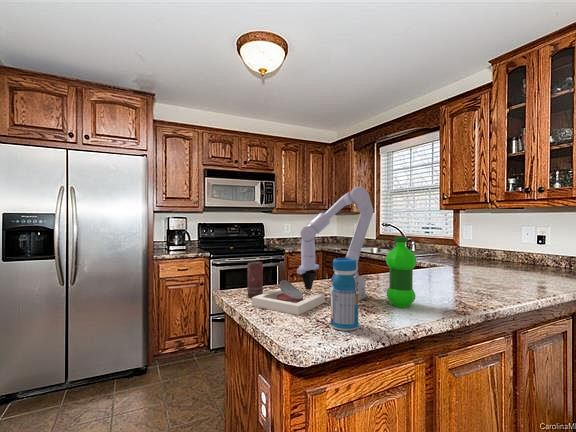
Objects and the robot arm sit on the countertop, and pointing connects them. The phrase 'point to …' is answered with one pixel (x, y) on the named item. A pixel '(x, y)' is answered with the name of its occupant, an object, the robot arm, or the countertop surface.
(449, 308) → the countertop surface
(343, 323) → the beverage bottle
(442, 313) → the countertop surface
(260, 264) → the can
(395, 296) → the plastic bottle
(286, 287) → the canned food
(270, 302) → the notched board
